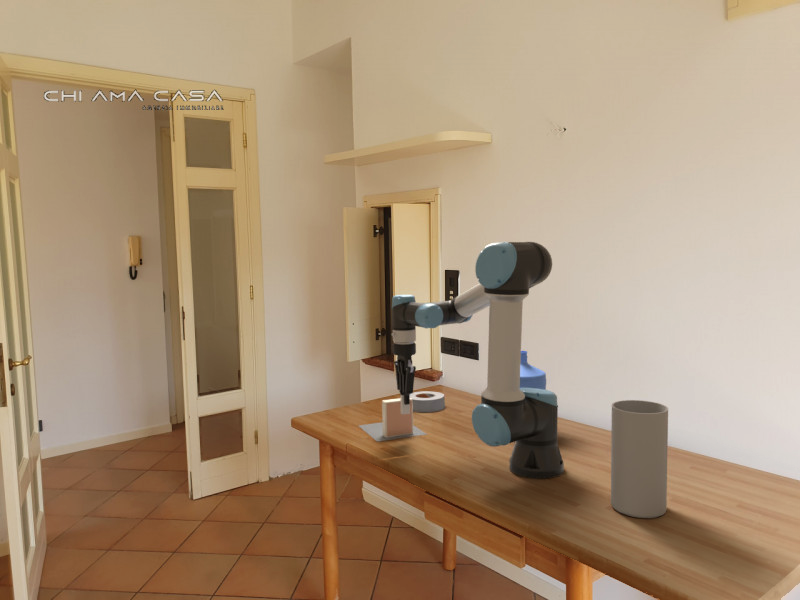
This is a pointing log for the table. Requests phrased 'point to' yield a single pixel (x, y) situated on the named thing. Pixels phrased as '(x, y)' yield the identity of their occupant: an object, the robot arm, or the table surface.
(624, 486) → the cylinder vase
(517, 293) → the robot arm
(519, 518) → the table surface
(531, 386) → the water jug
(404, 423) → the wooden plaque
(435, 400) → the tape roll
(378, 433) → the rubber mat
